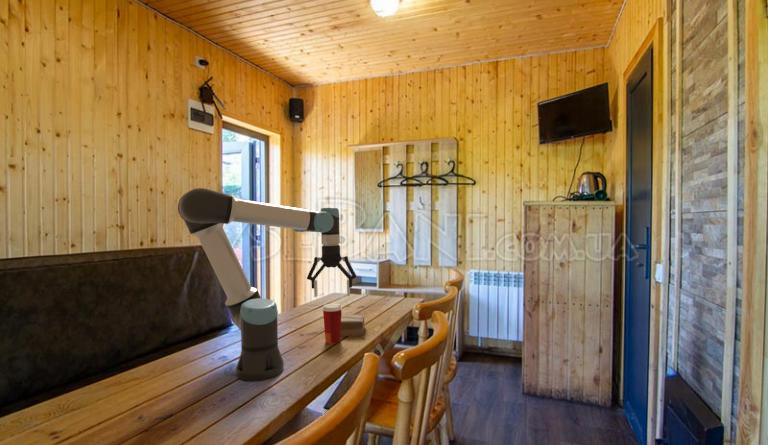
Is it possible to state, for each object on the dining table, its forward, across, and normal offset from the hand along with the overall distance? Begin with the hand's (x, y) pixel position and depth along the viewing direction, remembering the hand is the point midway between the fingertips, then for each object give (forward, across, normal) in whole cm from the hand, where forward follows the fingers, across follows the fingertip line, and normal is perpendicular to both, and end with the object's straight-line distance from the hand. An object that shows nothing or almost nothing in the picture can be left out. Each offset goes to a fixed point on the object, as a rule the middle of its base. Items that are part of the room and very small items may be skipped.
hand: (332, 295), depth 151 cm
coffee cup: (+19, 0, 0) cm, 19 cm away
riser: (+19, -6, -13) cm, 24 cm away
